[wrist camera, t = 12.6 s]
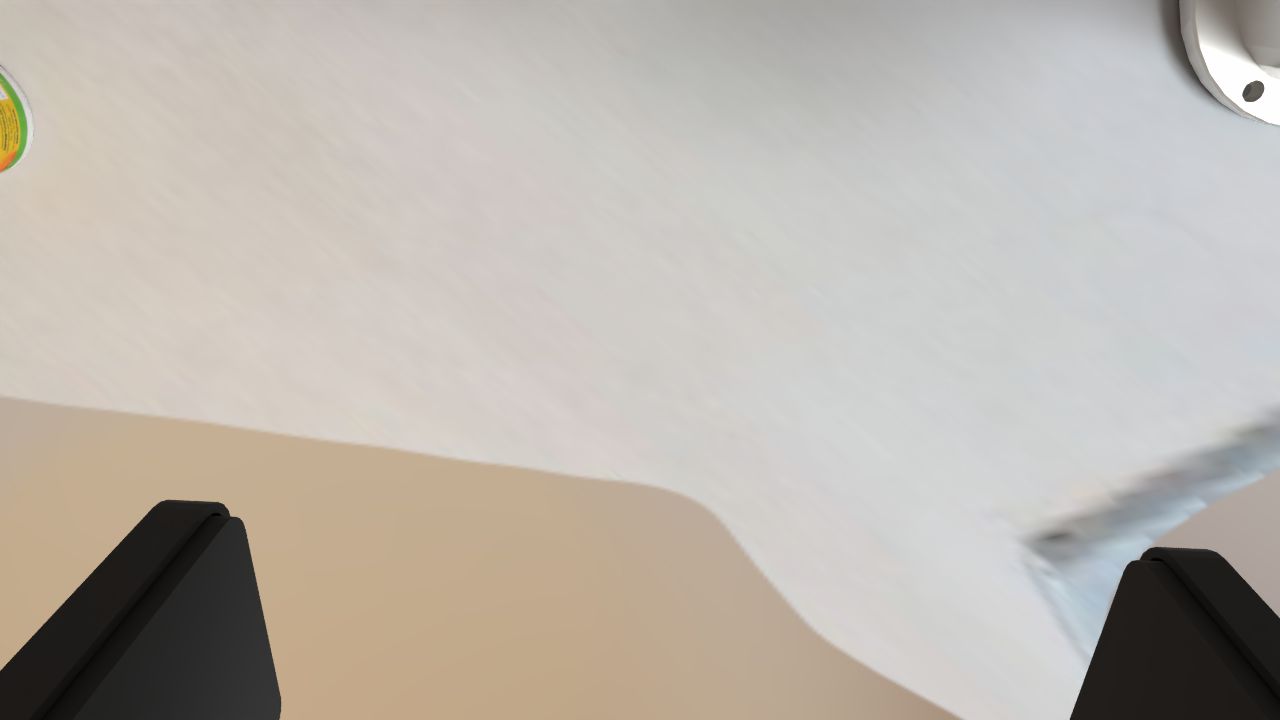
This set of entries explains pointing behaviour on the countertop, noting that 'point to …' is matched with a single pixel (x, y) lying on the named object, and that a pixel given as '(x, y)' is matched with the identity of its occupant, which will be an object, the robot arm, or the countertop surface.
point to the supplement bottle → (13, 123)
